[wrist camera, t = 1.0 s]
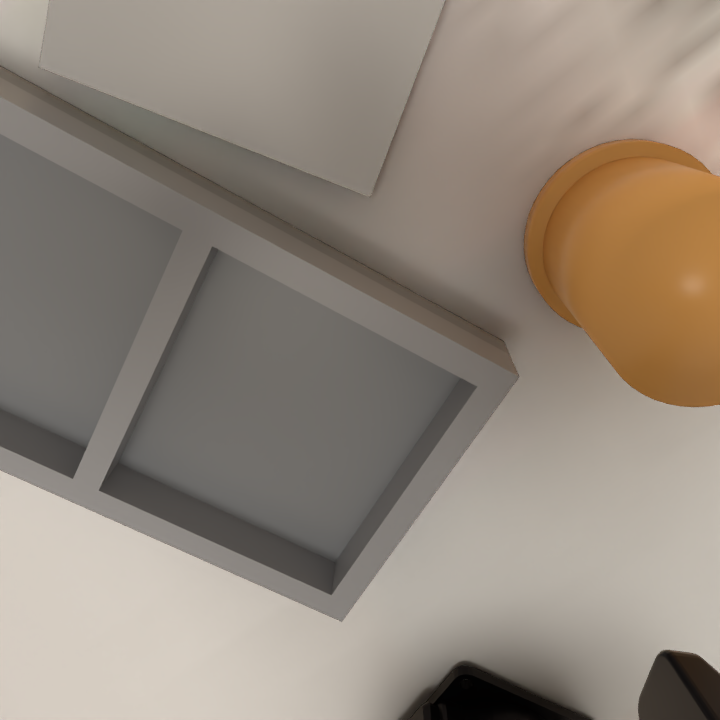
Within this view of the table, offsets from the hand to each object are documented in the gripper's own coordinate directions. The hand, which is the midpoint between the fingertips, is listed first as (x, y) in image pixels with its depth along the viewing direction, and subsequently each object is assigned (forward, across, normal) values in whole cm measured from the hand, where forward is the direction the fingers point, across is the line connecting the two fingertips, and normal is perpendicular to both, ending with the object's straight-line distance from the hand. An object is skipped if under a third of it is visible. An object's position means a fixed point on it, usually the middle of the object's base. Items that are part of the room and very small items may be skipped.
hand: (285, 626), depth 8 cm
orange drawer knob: (+13, -7, -3) cm, 15 cm away
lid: (+13, +3, -7) cm, 15 cm away
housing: (+13, +5, +2) cm, 14 cm away
